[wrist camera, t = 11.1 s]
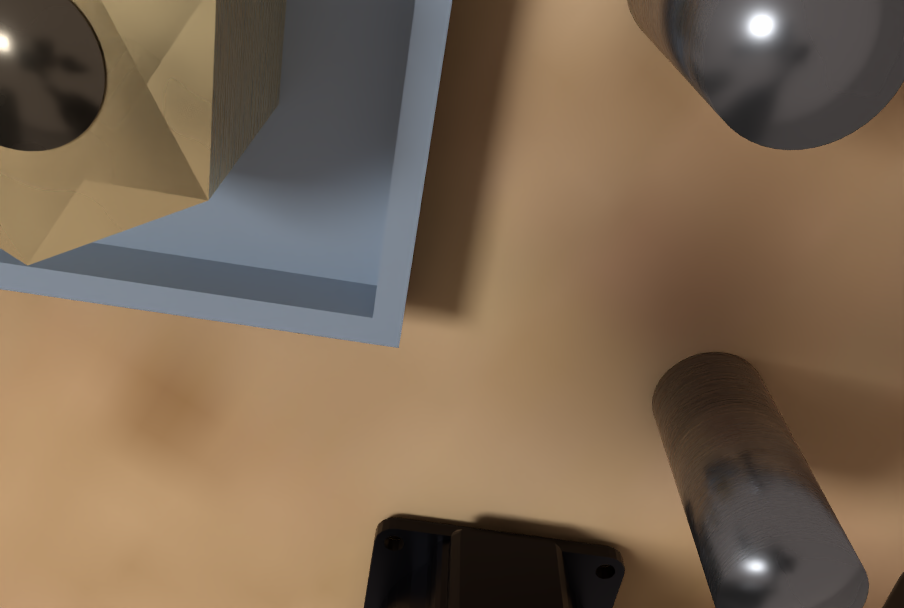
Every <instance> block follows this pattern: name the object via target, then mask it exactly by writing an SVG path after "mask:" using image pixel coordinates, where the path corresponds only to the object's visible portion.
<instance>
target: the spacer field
mask: <svg viewBox="0 0 904 608" xmlns="http://www.w3.org/2000/svg"><path fill="white" fill-rule="evenodd" d="M627 2H628V6H629V9H630V12H631V14H632V16H633V18H634V20H635V22H636V23H637V25H638V26H639V28H640V29H641V30H642V31H643V32H644V33H645V34H646V36H647V37H648V38H649V39H650V40H651V41H652V42H653V43H654V44H655V45H656V47H657V48H658V49H659V50H660V51H661V52H662V53H663V54H664V55H665V57H666V58H667V59H668V60H669V61H670V62H671V63H672V64H673V65H674V66H675V68H676V69H677V70H678V71H679V72H680V73H681V74H682V75H683V76H684V77H685V79H686V80H687V81H688V82H689V83H690V84H691V85H692V86H693V87H694V88H695V90H696V91H697V92H698V93H699V94H700V95H701V96H702V97H703V98H704V99H705V101H706V102H707V103H708V104H709V105H710V106H711V107H712V108H713V109H714V111H715V112H716V113H717V114H718V115H719V116H720V117H721V118H722V119H723V120H724V121H725V122H726V124H727V125H728V126H729V127H730V128H731V129H733V130H734V131H735V132H737V133H738V134H739V135H740V136H742V137H744V138H746V139H748V140H749V141H751V142H754V143H756V144H759V145H761V146H765V147H769V148H774V149H782V150H802V149H808V148H815V147H818V146H822V145H826V144H829V143H831V142H834V141H836V140H839V139H841V138H843V137H845V136H847V135H849V134H851V133H853V132H854V131H856V130H857V129H859V128H860V127H862V126H863V125H865V124H866V123H867V122H869V121H870V120H871V119H872V118H873V117H875V116H876V115H877V114H878V113H879V112H880V111H881V110H882V109H883V108H884V107H885V106H886V105H887V104H888V103H889V101H890V100H891V99H892V97H893V96H894V95H895V94H896V92H897V91H898V89H899V88H900V86H901V85H902V83H903V81H904V0H627ZM652 408H653V413H654V417H655V420H656V423H657V426H658V429H659V432H660V436H661V439H662V442H663V445H664V448H665V451H666V454H667V457H668V461H669V464H670V467H671V470H672V473H673V476H674V479H675V482H676V486H677V489H678V492H679V495H680V498H681V501H682V504H683V507H684V511H685V514H686V517H687V520H688V523H689V526H690V529H691V532H692V536H693V539H694V542H695V545H696V548H697V551H698V554H699V557H700V561H701V564H702V567H703V570H704V573H705V576H706V579H707V582H708V586H709V589H710V592H711V595H712V598H713V601H714V604H715V607H716V608H862V607H863V606H864V603H865V601H866V599H867V595H868V588H869V583H868V577H867V574H866V571H865V569H864V567H863V566H862V564H861V562H860V560H859V558H858V556H857V554H856V553H855V551H854V549H853V547H852V545H851V543H850V542H849V540H848V538H847V536H846V534H845V532H844V530H843V529H842V527H841V525H840V523H839V521H838V519H837V518H836V516H835V514H834V512H833V510H832V508H831V506H830V505H829V503H828V501H827V499H826V497H825V495H824V494H823V492H822V490H821V488H820V486H819V484H818V482H817V481H816V479H815V477H814V475H813V473H812V471H811V470H810V468H809V466H808V464H807V462H806V460H805V458H804V457H803V455H802V453H801V451H800V449H799V447H798V446H797V444H796V442H795V440H794V438H793V436H792V434H791V433H790V431H789V429H788V427H787V425H786V423H785V422H784V420H783V418H782V416H781V414H780V412H779V410H778V409H777V407H776V405H775V403H774V401H773V399H772V398H771V396H770V394H769V392H768V390H767V388H766V386H765V385H764V383H763V381H762V379H761V377H760V375H759V374H758V372H757V371H756V369H755V368H754V367H753V366H752V365H751V364H749V363H748V362H747V361H745V360H743V359H741V358H739V357H737V356H734V355H731V354H726V353H705V354H699V355H695V356H692V357H690V358H687V359H685V360H683V361H681V362H679V363H678V364H676V365H675V366H673V367H672V368H671V369H669V370H668V371H667V372H666V373H665V374H664V376H663V377H662V378H661V379H660V381H659V383H658V384H657V386H656V389H655V391H654V394H653V400H652Z"/></svg>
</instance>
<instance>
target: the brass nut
mask: <svg viewBox="0 0 904 608" xmlns="http://www.w3.org/2000/svg"><path fill="white" fill-rule="evenodd" d="M285 13H286V0H0V248H1V249H2V250H4V251H5V252H7V253H9V254H10V255H12V256H13V257H15V258H16V259H18V260H20V261H21V262H23V263H24V264H26V265H30V264H33V263H36V262H39V261H42V260H44V259H47V258H50V257H53V256H56V255H58V254H61V253H64V252H67V251H69V250H72V249H75V248H78V247H81V246H83V245H86V244H89V243H92V242H94V241H97V240H100V239H103V238H106V237H108V236H111V235H114V234H117V233H120V232H122V231H125V230H128V229H131V228H133V227H136V226H139V225H142V224H145V223H147V222H150V221H153V220H156V219H158V218H161V217H164V216H167V215H170V214H172V213H175V212H178V211H181V210H184V209H186V208H189V207H192V206H195V205H197V204H200V203H203V202H206V201H209V199H210V198H211V196H212V195H213V194H214V192H215V191H216V190H217V188H218V187H219V185H220V184H221V183H222V181H223V180H224V179H225V177H226V176H227V174H228V173H229V172H230V170H231V169H232V168H233V166H234V165H235V164H236V162H237V161H238V159H239V158H240V157H241V155H242V154H243V153H244V151H245V150H246V148H247V147H248V146H249V144H250V143H251V142H252V140H253V139H254V137H255V136H256V135H257V133H258V132H259V131H260V129H261V128H262V127H263V125H264V124H265V122H266V121H267V120H268V118H269V117H270V116H271V114H272V113H273V111H274V110H275V109H276V107H277V106H278V105H279V93H280V79H281V66H282V53H283V39H284V26H285Z"/></svg>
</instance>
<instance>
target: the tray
mask: <svg viewBox="0 0 904 608" xmlns="http://www.w3.org/2000/svg"><path fill="white" fill-rule="evenodd" d="M451 6H452V0H286V13H285V26H284V39H283V53H282V66H281V79H280V93H279V105H278V106H277V107H276V109H275V110H274V111H273V113H272V114H271V116H270V117H269V118H268V120H267V121H266V122H265V124H264V125H263V127H262V128H261V129H260V131H259V132H258V133H257V135H256V136H255V137H254V139H253V140H252V142H251V143H250V144H249V146H248V147H247V148H246V150H245V151H244V153H243V154H242V155H241V157H240V158H239V159H238V161H237V162H236V164H235V165H234V166H233V168H232V169H231V170H230V172H229V173H228V174H227V176H226V177H225V179H224V180H223V181H222V183H221V184H220V185H219V187H218V188H217V190H216V191H215V192H214V194H213V195H212V196H211V198H210V199H209V201H206V202H203V203H200V204H197V205H195V206H192V207H189V208H186V209H184V210H181V211H178V212H175V213H172V214H170V215H167V216H164V217H161V218H158V219H156V220H153V221H150V222H147V223H145V224H142V225H139V226H136V227H133V228H131V229H128V230H125V231H122V232H120V233H117V234H114V235H111V236H108V237H106V238H103V239H100V240H97V241H94V242H92V243H89V244H86V245H83V246H81V247H78V248H75V249H72V250H69V251H67V252H64V253H61V254H58V255H56V256H53V257H50V258H47V259H44V260H42V261H39V262H36V263H33V264H30V265H26V264H24V263H23V262H21V261H20V260H18V259H16V258H15V257H13V256H12V255H10V254H9V253H7V252H5V251H4V250H2V249H1V248H0V289H3V290H10V291H17V292H23V293H30V294H37V295H44V296H50V297H57V298H64V299H71V300H78V301H84V302H91V303H98V304H105V305H111V306H118V307H125V308H132V309H139V310H145V311H152V312H159V313H166V314H173V315H179V316H186V317H193V318H200V319H206V320H213V321H220V322H227V323H234V324H240V325H247V326H254V327H261V328H267V329H274V330H281V331H288V332H295V333H301V334H308V335H315V336H322V337H328V338H335V339H342V340H349V341H356V342H362V343H369V344H376V345H383V346H390V347H396V348H399V343H400V336H401V330H402V323H403V317H404V310H405V304H406V297H407V291H408V284H409V278H410V271H411V265H412V258H413V252H414V245H415V239H416V232H417V226H418V219H419V213H420V206H421V200H422V194H423V187H424V181H425V174H426V168H427V161H428V155H429V148H430V142H431V135H432V129H433V122H434V116H435V109H436V103H437V96H438V90H439V83H440V77H441V70H442V64H443V57H444V51H445V44H446V38H447V31H448V25H449V18H450V12H451Z"/></svg>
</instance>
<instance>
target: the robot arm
mask: <svg viewBox="0 0 904 608" xmlns="http://www.w3.org/2000/svg"><path fill="white" fill-rule="evenodd" d="M390 536H397V537H400V538H401V539H397V540H393V539H391V538H389V537H390ZM607 564H608V565H609V566H607V567H599V566H601V565H607ZM624 571H625V568H624V563H623V558H622V556H621V554H620V552H619V551H618V550H616V549H615V548H612V547H609V546H602V545H595V544H587V543H580V542H573V541H565V540H558V539H551V538H543V537H536V536H528V535H521V534H514V533H506V532H499V531H492V530H484V529H477V528H469V527H462V526H455V525H447V524H440V523H433V522H425V521H418V520H410V519H403V518H388V519H385V520H383V521H382V522H381V523H379V524H378V526H377V529H376V533H375V540H374V546H373V552H372V559H371V565H370V571H369V578H368V584H367V590H366V597H365V603H364V608H612V607H613V605H614V602H615V599H616V596H617V593H618V590H619V588H620V585H621V582H622V579H623V576H624ZM882 608H904V572H903V573H902V575H901V576H900V577H899V579H898V581H897V583H896V584H895V586H894V588H893V590H892V592H891V593H890V595H889V597H888V599H887V600H886V602H885V604H884V606H883V607H882Z"/></svg>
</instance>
